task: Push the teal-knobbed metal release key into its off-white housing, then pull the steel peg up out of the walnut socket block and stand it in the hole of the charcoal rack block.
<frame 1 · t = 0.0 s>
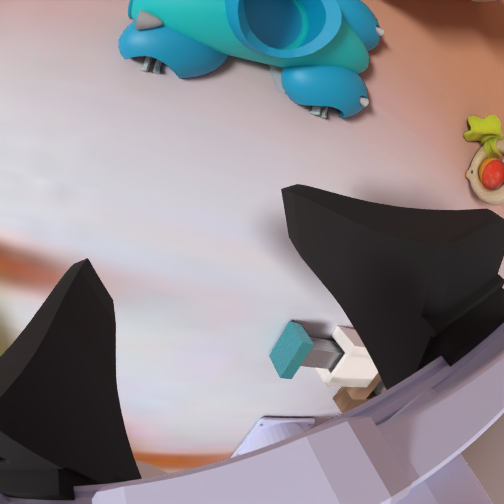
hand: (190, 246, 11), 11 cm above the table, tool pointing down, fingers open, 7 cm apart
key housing: (345, 349, 31), on the table
socket block: (376, 373, 35), on the table
release key: (316, 354, 27), point 2 cm above the table, slide at 0.0 cm
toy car: (259, 27, 17), on the table
bird rattle: (469, 154, 26), on the table
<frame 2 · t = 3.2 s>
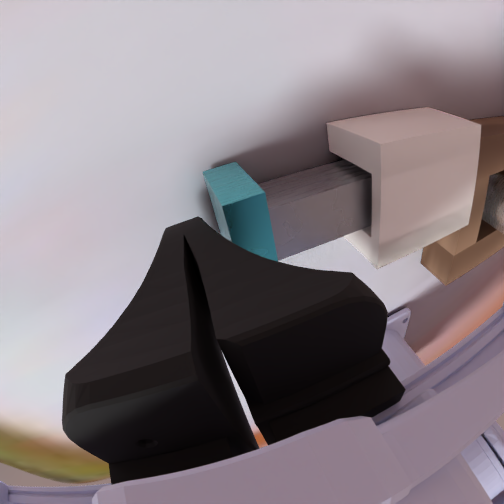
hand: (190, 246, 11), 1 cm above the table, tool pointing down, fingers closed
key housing: (385, 164, 13), on the table
socket block: (472, 185, 16), on the table
release key: (322, 207, 11), point 2 cm above the table, slide at 0.6 cm, touching gripper
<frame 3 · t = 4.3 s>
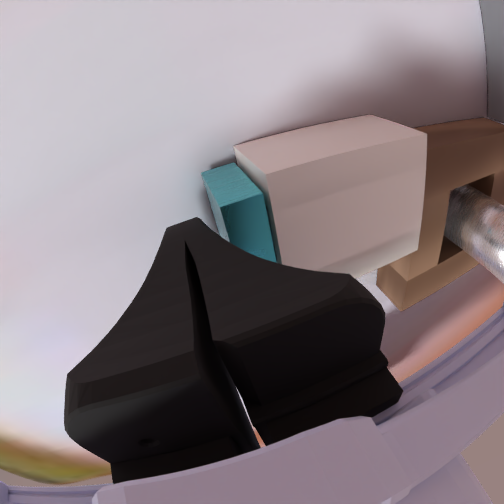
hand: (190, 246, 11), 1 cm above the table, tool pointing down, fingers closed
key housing: (315, 184, 12), on the table
socket block: (437, 198, 15), on the table
release key: (320, 207, 11), point 2 cm above the table, slide at 4.3 cm, touching gripper
steel peg: (488, 231, 12), in the socket block
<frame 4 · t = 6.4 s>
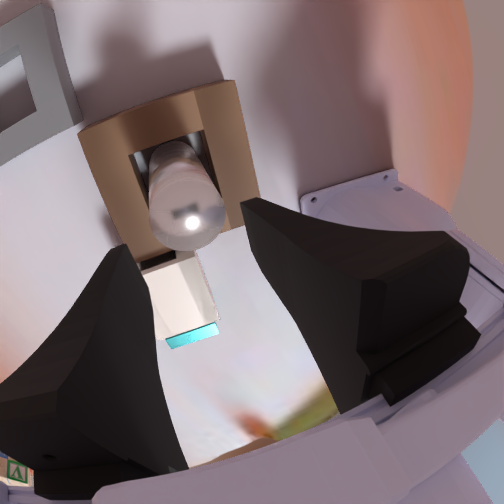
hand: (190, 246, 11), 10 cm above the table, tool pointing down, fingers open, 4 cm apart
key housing: (170, 274, 23), on the table
socket block: (173, 165, 19), on the table
release key: (176, 296, 22), point 2 cm above the table, slide at 4.3 cm
rack block: (13, 92, 13), on the table
steel peg: (179, 185, 16), in the socket block
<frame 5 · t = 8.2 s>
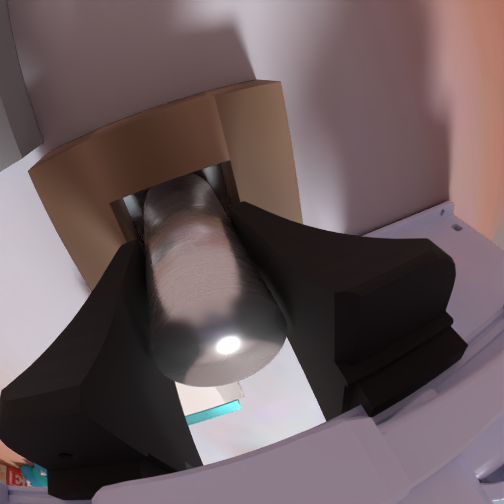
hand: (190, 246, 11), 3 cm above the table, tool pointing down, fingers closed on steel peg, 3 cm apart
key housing: (177, 342, 18), on the table
socket block: (179, 206, 13), on the table
release key: (187, 372, 17), point 2 cm above the table, slide at 4.3 cm
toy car: (88, 477, 27), on the table
steel peg: (193, 255, 10), in the socket block, touching gripper
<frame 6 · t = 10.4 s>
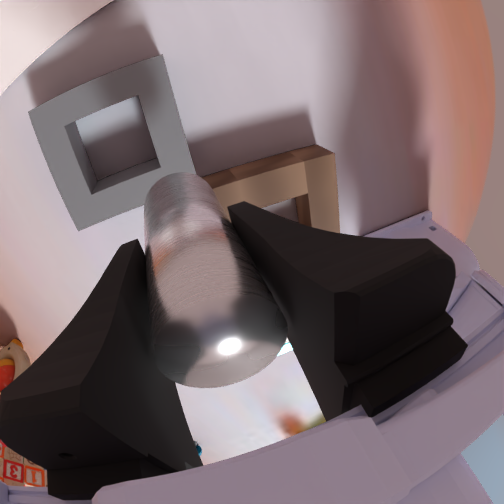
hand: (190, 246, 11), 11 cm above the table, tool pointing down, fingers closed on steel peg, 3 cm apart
socket block: (270, 215, 23), on the table
release key: (261, 322, 27), point 2 cm above the table, slide at 4.3 cm
stack of blocks: (18, 431, 29), on the table
rack block: (116, 137, 17), on the table
bird rattle: (7, 348, 22), on the table
steel peg: (193, 256, 10), point 11 cm above the table, touching gripper
when the fingers open (4 cm above the table, at t = 12.5 s): steel peg drops 1 cm, resting in rack block.
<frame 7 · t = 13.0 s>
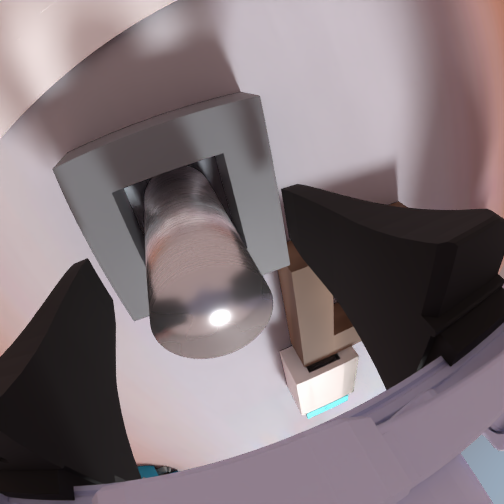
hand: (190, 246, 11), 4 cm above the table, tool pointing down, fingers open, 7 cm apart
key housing: (311, 359, 25), on the table
socket block: (343, 277, 21), on the table
release key: (320, 379, 24), point 2 cm above the table, slide at 4.3 cm
rack block: (177, 198, 14), on the table
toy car: (171, 478, 35), on the table
steel peg: (189, 240, 11), in the rack block
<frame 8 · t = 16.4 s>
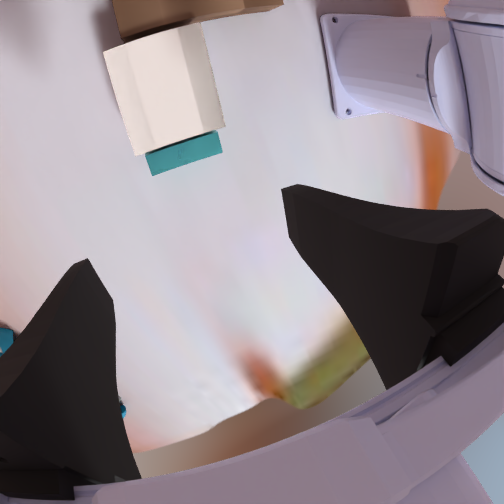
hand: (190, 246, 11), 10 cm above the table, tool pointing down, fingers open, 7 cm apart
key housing: (162, 86, 16), on the table
release key: (167, 99, 15), point 2 cm above the table, slide at 4.3 cm
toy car: (48, 382, 26), on the table
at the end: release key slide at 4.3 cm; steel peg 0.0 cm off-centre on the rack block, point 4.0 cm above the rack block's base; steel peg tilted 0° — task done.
